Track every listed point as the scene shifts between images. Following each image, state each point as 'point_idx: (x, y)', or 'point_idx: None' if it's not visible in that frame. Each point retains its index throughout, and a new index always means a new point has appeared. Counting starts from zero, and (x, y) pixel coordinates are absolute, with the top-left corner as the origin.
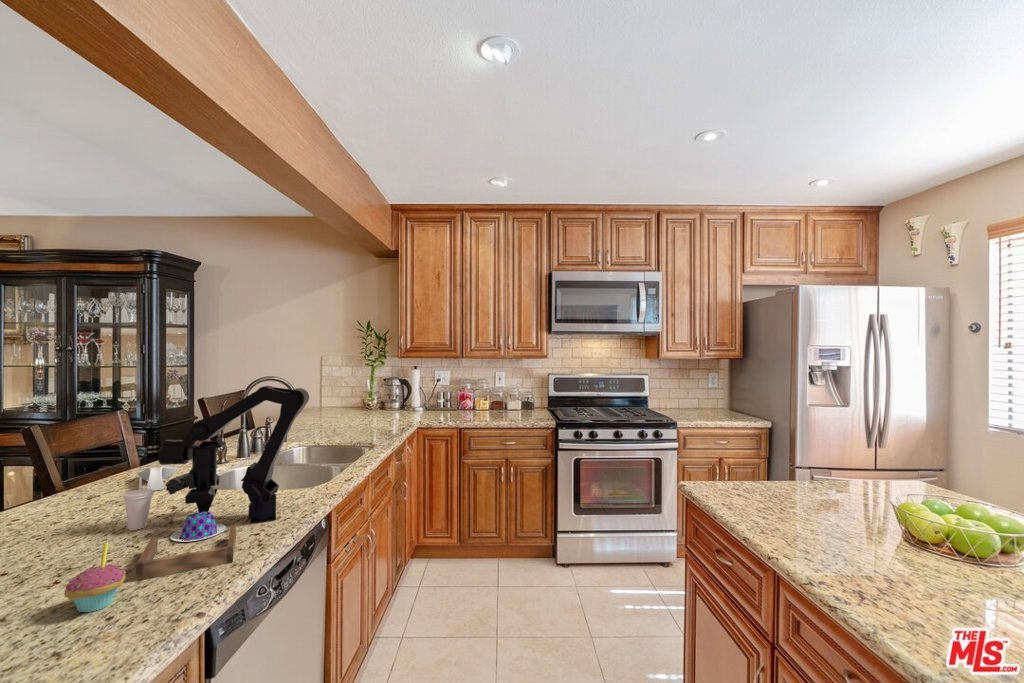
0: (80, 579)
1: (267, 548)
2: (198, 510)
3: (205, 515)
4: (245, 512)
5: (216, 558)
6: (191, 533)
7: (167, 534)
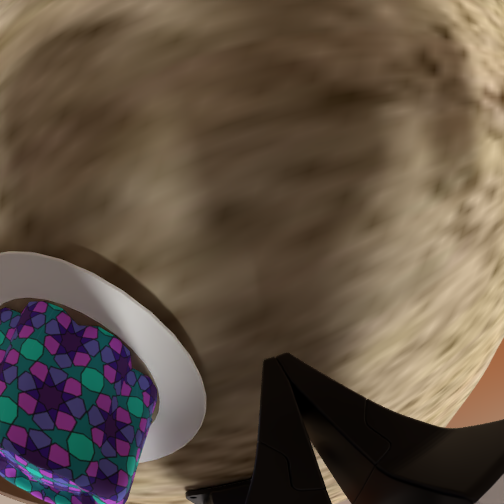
0: None
1: None
2: (260, 424)
3: (80, 490)
4: None
5: None
6: None
7: (43, 187)
